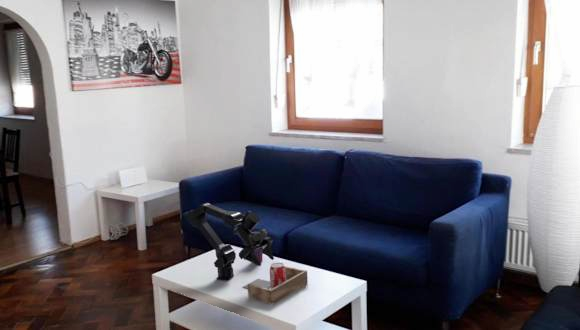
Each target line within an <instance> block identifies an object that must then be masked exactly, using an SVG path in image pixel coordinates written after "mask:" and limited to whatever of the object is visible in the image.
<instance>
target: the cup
mask: <svg viewBox="0 0 580 330" xmlns="http://www.w3.org/2000/svg"><path fill="white" fill-rule="evenodd" d="M251 232H252V233H254V232H255V233H256V234H259V233H260V231H251ZM261 242H262V241H261ZM261 242H260V243H261ZM257 247H258V246H257ZM254 254H255V256H256V257H257V259H258V260H259V262H260V263H263V252H262V249H260V248H259V249H256V250H254Z"/></svg>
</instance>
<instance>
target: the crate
mask: <svg viewBox="0 0 580 330" xmlns="http://www.w3.org/2000/svg"><path fill="white" fill-rule="evenodd" d="M284 267H285V272H286V281H285V282H283V283H281V284H280V285H278V286H276V287H274V288H272V289H271V288H264V287H260V286H256V285H252V284H249V283H247V284H248V289H247V297H248V299H252V300H255V301H258V302H262V303H266V304H269V305H273V304H275V303H277V302H279V301H280V300H282V299H284V298H285V297H287V296H289V295H290V294H292V293H293V292H296V291H297V290H298V289H300V288H302V287H304V286H306V285H307V284H308V282H309V281H308V271H307V270H305V269H300V268H297V267H291V266H286V265H284Z"/></svg>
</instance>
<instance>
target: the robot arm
mask: <svg viewBox="0 0 580 330" xmlns="http://www.w3.org/2000/svg"><path fill="white" fill-rule="evenodd" d="M207 215H209V216H211V217H214V218H217V219H219V220H221V221H222V222H223V224H225V225H226V226H228V227H229V228H233V227H234V228H233V230H232V231H233V232H232V234H233V235H238V236H239V238H240V239H241V240H242V241H241V243H242V245H246V246H245V247H243V248H242V249H240V252H238V257H239V258H240V260H244V261H245V260H246V261H247V262H250V263H252V264H255V265H256V266H258V267H261V266H262V264H261V263H262V262H261V263H260V262H259V260H258V259H257V257H256V256H255V254H254V250H256V249H259V248H260V249H262V254H264V255H266V256H267V258H269V259H270V260H272V261H273V260H275V257H274V254H273V251H272V244H273V241H274V240H273V239H272V237H271V236H268V232H267V230H266V229H265V228H264V229H261V230H259V232H260V233H259V234H256V233H255V232H256V231H252V230H254V228H255V227H256V226H257V225H258V223H259V222H260V221H261V220H260V217H259V216H260V215H258V214H256V213H254V212H252V211H251V210H249V211H247V212H246V213H245V215H244V214H242V213H241V212H239V211H234V210H233V211H231V210H225V209H223V208H220V207H218V206H215V205H214V204H211V203H209V202H205V203H202V204H200V205H199V206H197V207H196V208H194V209H193V210H189V211H187V214H186V219H187V221H188V223H190V225H192V226H193V227H196V228H197V229H199V231H200V232H201V233H202V235H203V236H204V238H205V239H206V240H207V241H208V242H209V244H210V245H211V247H212V248H213V249H214V250H215V257H216V258H217V259H215V261H214V262H213V265H214V267H215V268H216V269H217V277H216V279H217V280H223V281H229V280H230V279H232V277H234V276H235V274H234V267H233V264H235V261H236V257H237V254H236V250H235V249H234V248H233V247H232V245H231V244H230V243H229V244H225V243H223V240H221V238H219V236H218V235H217V233H216V232H215V230H214V229H213V228H212V227H211V225H210V224H209V223H208V222H207ZM252 232H254V233H252ZM261 241H262V242H261ZM260 242H261V243H260ZM257 246H258V247H257Z"/></svg>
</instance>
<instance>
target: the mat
mask: <svg viewBox="0 0 580 330" xmlns="http://www.w3.org/2000/svg"><path fill="white" fill-rule="evenodd" d="M248 284H252V285H256V286H260V287H264V288H268V289H271V286H270V280H265V279H261V278H256V279H255V280H253V281H250V282H249V283H247V284H245V285H243V286H242V288H244V289H247V290H248Z"/></svg>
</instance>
